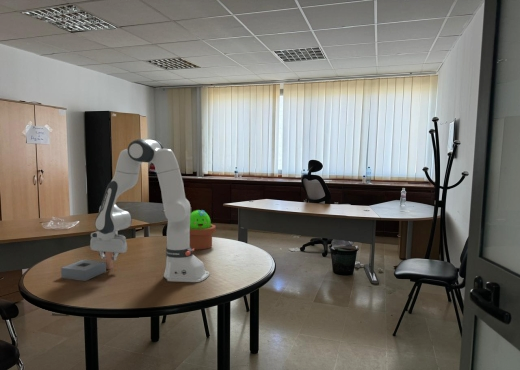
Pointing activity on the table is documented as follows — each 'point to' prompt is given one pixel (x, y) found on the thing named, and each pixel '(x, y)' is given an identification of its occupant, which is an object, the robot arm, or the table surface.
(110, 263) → the peg
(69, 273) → the socket block
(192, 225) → the potted cactus
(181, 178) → the robot arm
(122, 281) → the table surface
